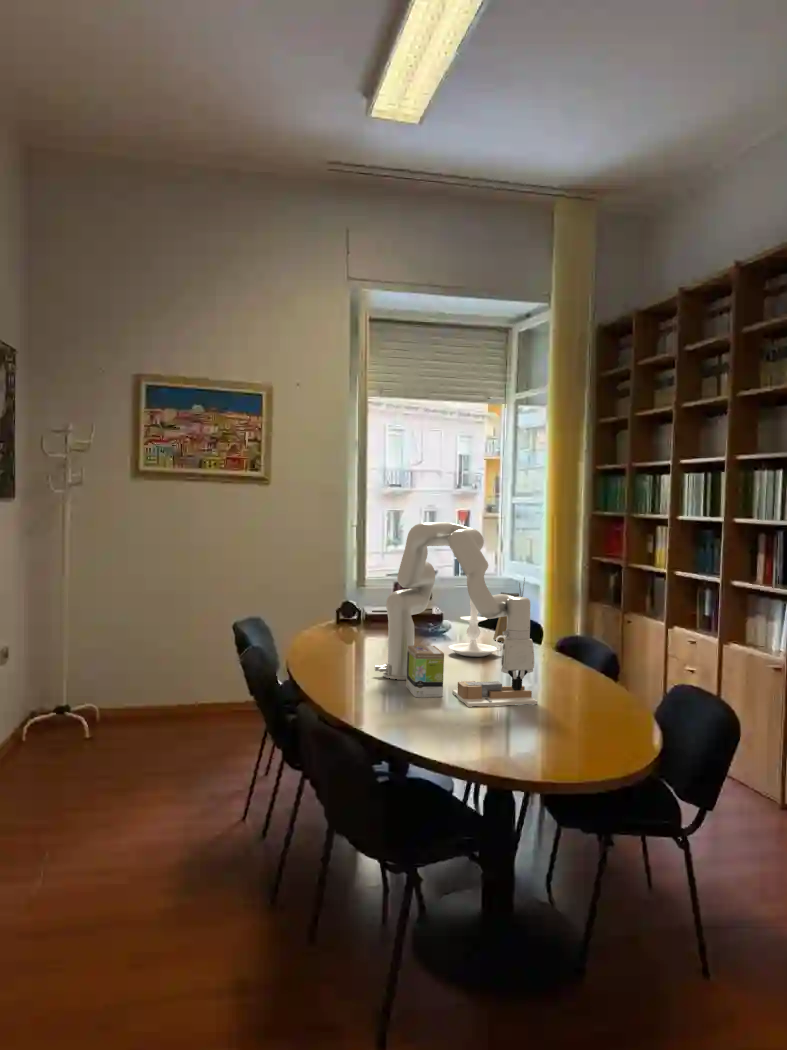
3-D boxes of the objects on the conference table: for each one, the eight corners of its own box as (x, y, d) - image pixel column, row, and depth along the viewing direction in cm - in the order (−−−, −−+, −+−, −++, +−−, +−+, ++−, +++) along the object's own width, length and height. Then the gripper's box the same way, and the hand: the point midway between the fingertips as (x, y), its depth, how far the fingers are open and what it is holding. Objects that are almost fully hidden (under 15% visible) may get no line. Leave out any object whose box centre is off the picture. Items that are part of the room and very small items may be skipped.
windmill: (520, 645, 364) (522, 579, 363) (489, 643, 368) (491, 577, 367) (526, 637, 384) (528, 575, 383) (496, 635, 388) (498, 573, 387)
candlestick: (511, 660, 329) (513, 592, 328) (451, 659, 328) (452, 591, 327) (502, 650, 350) (504, 586, 349) (445, 650, 349) (447, 585, 348)
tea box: (443, 697, 266) (444, 652, 265) (413, 698, 264) (414, 653, 264) (434, 686, 281) (435, 644, 280) (405, 687, 279) (406, 644, 279)
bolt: (466, 697, 261) (466, 685, 261) (462, 694, 265) (463, 682, 265) (501, 696, 263) (502, 684, 263) (497, 693, 267) (498, 681, 267)
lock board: (468, 707, 254) (468, 690, 254) (452, 693, 271) (452, 677, 271) (537, 704, 258) (537, 688, 258) (517, 691, 276) (517, 676, 276)
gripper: (500, 637, 261) (498, 693, 261) (543, 636, 263) (542, 692, 264) (492, 633, 268) (491, 688, 269) (535, 632, 271) (534, 686, 271)
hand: (516, 690), depth 266 cm, fingers closed
